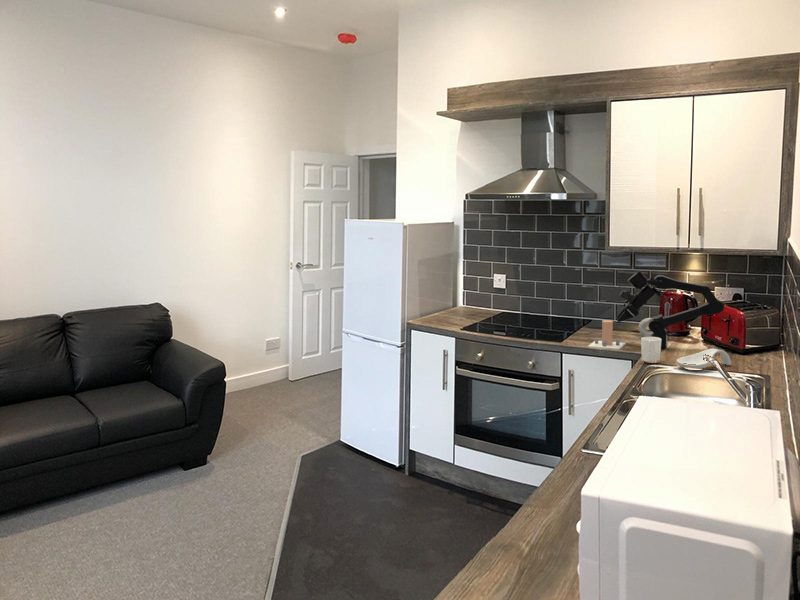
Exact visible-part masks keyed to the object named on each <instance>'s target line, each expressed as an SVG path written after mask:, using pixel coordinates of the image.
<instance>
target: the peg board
mask: <svg viewBox="0 0 800 600" xmlns="http://www.w3.org/2000/svg"><path fill="white" fill-rule="evenodd" d="M626 343H627V342H622V341H621V340H620V339H615V341H612V345H606V341H603V345H602V340H600V339H599V337H595V338H594V341H593V342H591V343H589V345H587V348H588V349H589V348H590V349H598V350H599V349H601V350H612V351H620V350H621V349H622V348H623V347H625V345H627V344H626Z"/></svg>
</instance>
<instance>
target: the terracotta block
mask: <svg viewBox="0 0 800 600" xmlns="http://www.w3.org/2000/svg"><path fill="white" fill-rule="evenodd" d="M601 321H602V322H601V326H602V327H601V341H602V345H603V341H606V345H612V342H613V329H614V328H613V327H614V325H613V324H614V322H613V320H610V319H609V320H608V319H607V320H605V319H603V320H601Z"/></svg>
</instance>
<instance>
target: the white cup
mask: <svg viewBox="0 0 800 600" xmlns="http://www.w3.org/2000/svg"><path fill="white" fill-rule="evenodd" d="M661 340H662V339H661V338H658V337H644V336H643V337H641V338H640V343H641V344H640V351H641V361H642V360H644V361H656V360H660V359H661V358H660V357H661V350H662V349H661Z"/></svg>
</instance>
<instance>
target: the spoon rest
mask: <svg viewBox="0 0 800 600" xmlns="http://www.w3.org/2000/svg"><path fill="white" fill-rule="evenodd" d="M717 353H718V354H719V355H720V364H722V365H725V364H726V366H731V365H732V361H731V357H730V355H729V354H728V353H727V352H726V351H724V350H723V349H718V348H707V349H705V350H702V351H700V352H697V353H693V354H689V355H687V356H686V355H685V356H682V357H679V358H677V359H676V363H677V364H678V366H679V367H681V366H684V367H691V368H704V367H706V368H707V367H708V366H709V365H710V363H711V362H707V361H704V360H703V355H705V354H706V355H709V356H711V357H713V358H714V356H715V355H716V354H717ZM683 363H687V364H683ZM688 364H696V365H688ZM704 369H705V368H704Z"/></svg>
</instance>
